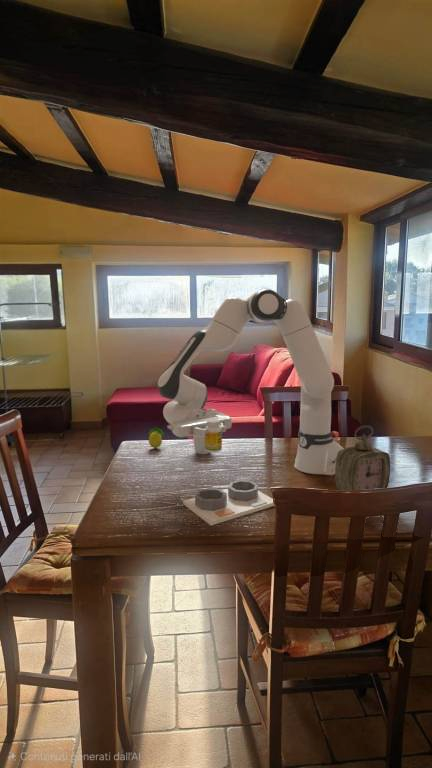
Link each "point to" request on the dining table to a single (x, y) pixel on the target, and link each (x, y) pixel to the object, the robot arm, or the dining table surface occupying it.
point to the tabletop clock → (362, 466)
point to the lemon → (155, 438)
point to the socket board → (228, 502)
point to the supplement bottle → (213, 436)
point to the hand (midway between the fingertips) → (215, 431)
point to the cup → (200, 444)
